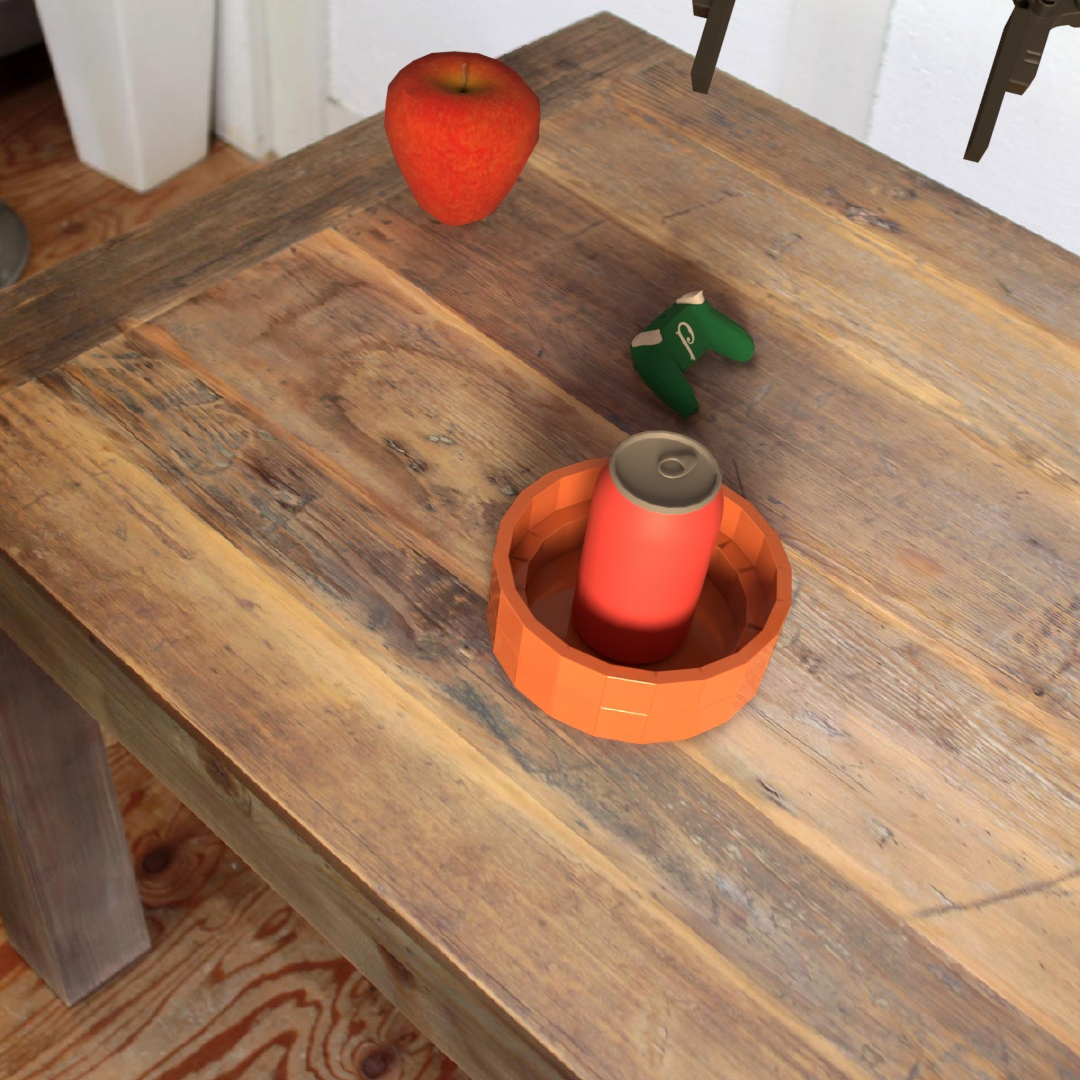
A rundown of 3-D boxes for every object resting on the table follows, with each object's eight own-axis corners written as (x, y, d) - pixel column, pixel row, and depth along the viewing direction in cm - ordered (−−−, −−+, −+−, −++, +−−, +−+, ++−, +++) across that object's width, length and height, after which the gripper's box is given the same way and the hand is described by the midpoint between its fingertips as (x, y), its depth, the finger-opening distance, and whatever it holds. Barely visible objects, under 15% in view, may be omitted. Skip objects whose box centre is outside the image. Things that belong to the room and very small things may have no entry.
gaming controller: (722, 363, 93) (681, 289, 92) (764, 349, 90) (722, 273, 89) (653, 431, 88) (608, 354, 86) (695, 419, 85) (649, 339, 83)
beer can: (712, 639, 73) (761, 487, 64) (616, 689, 70) (653, 536, 62) (640, 560, 77) (677, 405, 68) (546, 604, 74) (572, 448, 65)
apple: (551, 244, 98) (571, 94, 89) (412, 267, 94) (417, 113, 85) (496, 162, 104) (509, 14, 95) (364, 181, 101) (364, 29, 92)
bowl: (768, 552, 79) (792, 481, 75) (763, 774, 69) (791, 707, 64) (508, 509, 79) (517, 436, 75) (465, 724, 69) (472, 654, 64)
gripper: (1209, -219, 65) (1076, 202, 66) (715, -321, 69) (597, 81, 70) (1269, -316, 58) (1117, 161, 59) (712, -424, 61) (579, 28, 62)
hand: (834, 119), depth 64 cm, fingers open, 13 cm apart
